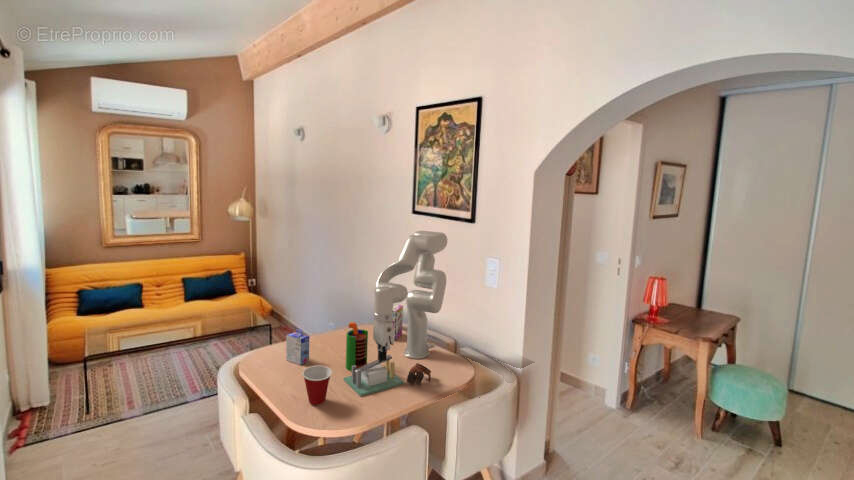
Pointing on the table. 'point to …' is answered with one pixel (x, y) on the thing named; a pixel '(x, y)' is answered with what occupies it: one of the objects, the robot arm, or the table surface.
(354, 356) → the motor
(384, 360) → the strap
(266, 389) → the table surface
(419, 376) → the pottery mug
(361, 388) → the board
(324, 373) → the plastic cup
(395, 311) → the candy bar box
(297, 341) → the ink cartridge box
